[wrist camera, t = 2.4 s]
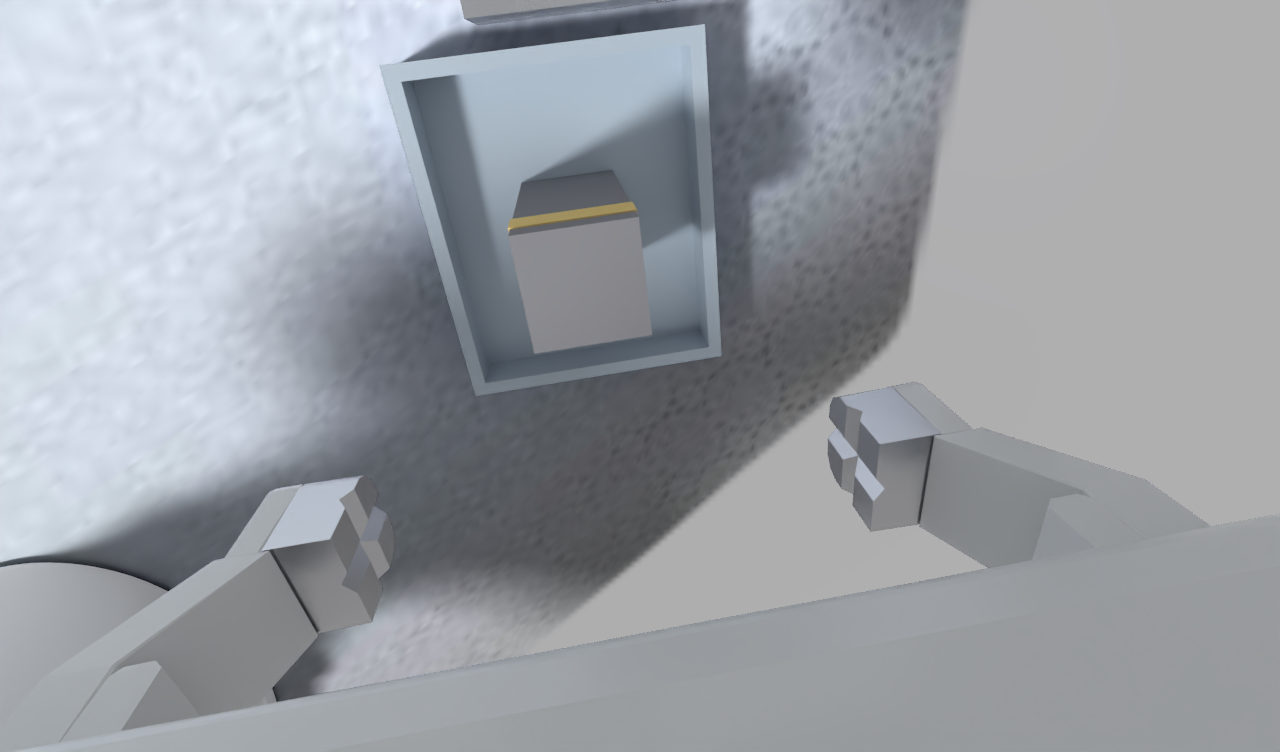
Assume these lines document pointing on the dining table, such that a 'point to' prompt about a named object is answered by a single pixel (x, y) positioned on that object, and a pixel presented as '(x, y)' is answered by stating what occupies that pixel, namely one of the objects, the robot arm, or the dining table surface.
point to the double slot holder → (536, 8)
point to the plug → (579, 262)
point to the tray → (556, 147)
